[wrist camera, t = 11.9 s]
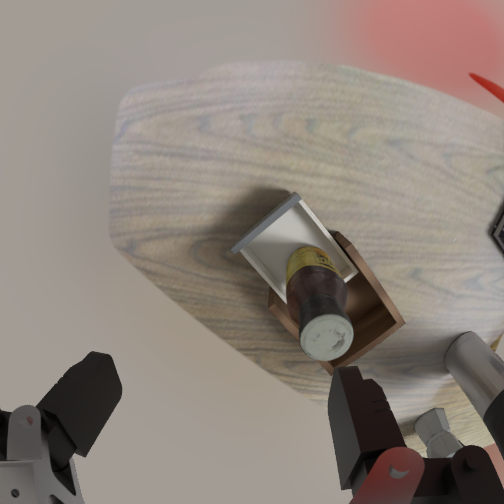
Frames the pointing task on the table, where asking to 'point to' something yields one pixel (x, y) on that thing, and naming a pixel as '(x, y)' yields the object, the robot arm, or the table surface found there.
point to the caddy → (353, 310)
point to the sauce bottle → (318, 304)
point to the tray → (288, 242)
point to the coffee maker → (437, 434)
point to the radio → (499, 232)
